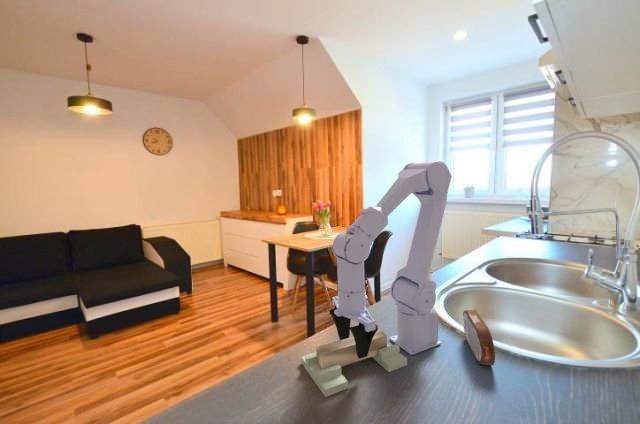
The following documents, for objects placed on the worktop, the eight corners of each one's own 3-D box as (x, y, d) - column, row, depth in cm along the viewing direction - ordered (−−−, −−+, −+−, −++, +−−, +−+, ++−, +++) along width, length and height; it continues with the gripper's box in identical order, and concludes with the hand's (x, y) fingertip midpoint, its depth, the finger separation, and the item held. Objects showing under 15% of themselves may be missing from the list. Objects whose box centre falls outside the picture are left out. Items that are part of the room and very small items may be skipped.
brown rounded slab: (496, 374, 62) (497, 335, 61) (479, 372, 63) (480, 334, 62) (474, 335, 77) (474, 303, 75) (460, 334, 77) (461, 303, 76)
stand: (374, 339, 77) (374, 327, 76) (407, 365, 66) (407, 352, 66) (301, 363, 68) (300, 350, 68) (325, 397, 57) (324, 382, 57)
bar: (316, 364, 65) (316, 346, 65) (379, 345, 71) (379, 329, 71) (322, 372, 62) (321, 354, 62) (387, 351, 68) (386, 335, 68)
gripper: (319, 281, 70) (322, 337, 71) (353, 304, 57) (355, 371, 58) (346, 276, 73) (347, 329, 74) (383, 296, 60) (384, 360, 61)
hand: (353, 347), depth 67 cm, fingers open, 7 cm apart
